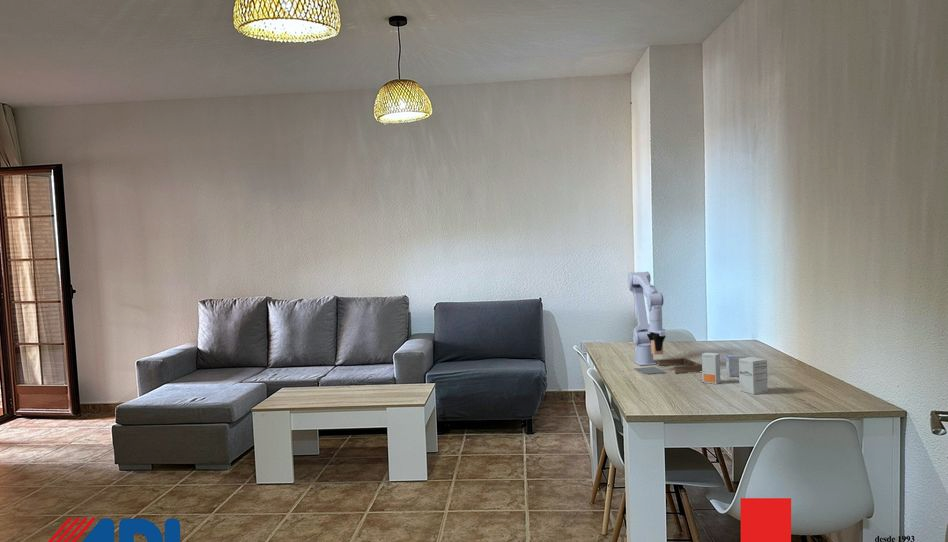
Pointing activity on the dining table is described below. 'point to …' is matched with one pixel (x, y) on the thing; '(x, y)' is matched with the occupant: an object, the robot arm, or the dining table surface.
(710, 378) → the skincare box
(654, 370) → the grey mat
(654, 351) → the terracotta block
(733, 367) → the medicine box
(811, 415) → the dining table surface
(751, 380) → the supplement box
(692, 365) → the open side frame
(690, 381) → the dining table surface
